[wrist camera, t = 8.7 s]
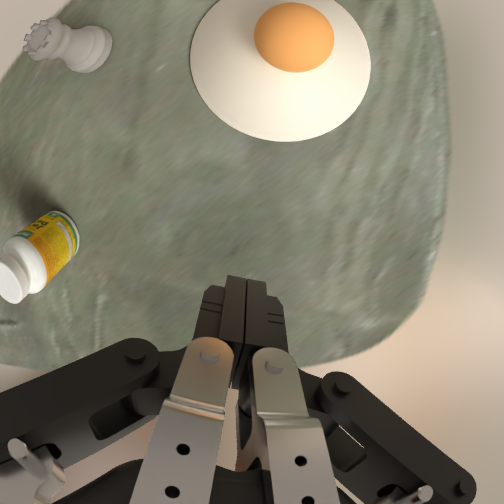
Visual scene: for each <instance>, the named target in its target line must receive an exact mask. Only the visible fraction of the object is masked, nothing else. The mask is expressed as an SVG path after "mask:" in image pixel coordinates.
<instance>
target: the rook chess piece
mask: <svg viewBox="0 0 504 504" xmlns="http://www.w3.org/2000/svg"><path fill="white" fill-rule="evenodd" d="M31 30H33V31H32V33H31V34H30V35H29V34H26V36H25V38H24V41H28V43H27V45H25V46H23V49H24V52H28V54H27V55H29V56H30V58H31V59H32V60H34V61H41V60H43V59H45V58H47V59H55V58H59V59H62V60H63V61H64V62H65V64H66V66H67V67H69V68H70V69H71V70H72V71H76V72H79V73H89V72H92V71H94V70H96V69H97V68H99V67H100V66H101V65H102V64H103V63H104V62H105V60H106V59H107V58H108V56H109V53H110V51H111V48H112V38H111V35H110V33H109V31H107V30H106V29H105V28H103V27H99V26H91V25H90V26H86V27H83V28H80V29H77V30H76V29H70V27H69V26H68V25H66V24H61V21H60V20H58V19H57V18H49V19H47V20H43V21H42V20H41V21H40V24H36V23H35V24H34V25H33V26H32V27H31Z"/></svg>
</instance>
